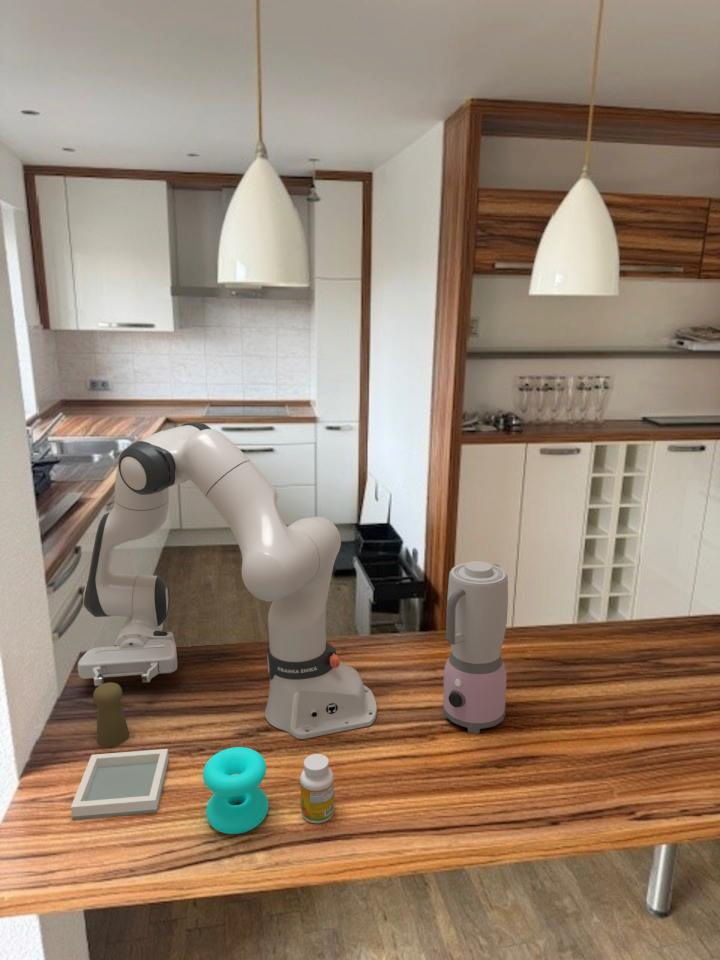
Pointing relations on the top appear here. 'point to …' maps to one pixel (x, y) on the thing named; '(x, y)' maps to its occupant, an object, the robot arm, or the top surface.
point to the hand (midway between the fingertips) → (121, 680)
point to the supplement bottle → (317, 789)
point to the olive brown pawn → (110, 715)
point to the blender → (476, 645)
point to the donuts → (235, 790)
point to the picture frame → (121, 784)
